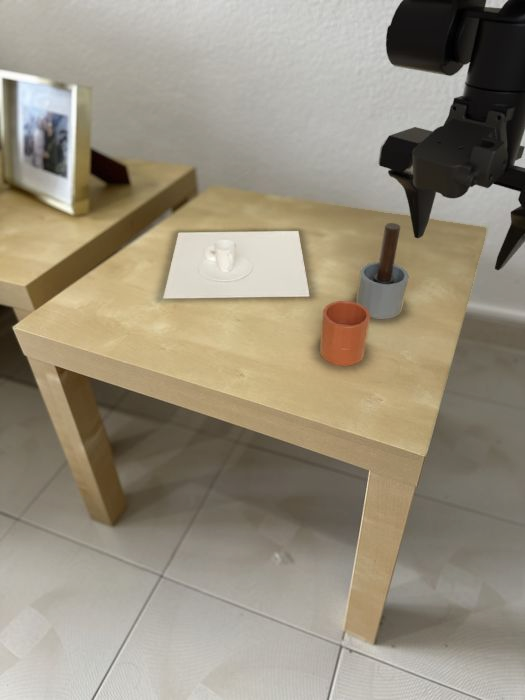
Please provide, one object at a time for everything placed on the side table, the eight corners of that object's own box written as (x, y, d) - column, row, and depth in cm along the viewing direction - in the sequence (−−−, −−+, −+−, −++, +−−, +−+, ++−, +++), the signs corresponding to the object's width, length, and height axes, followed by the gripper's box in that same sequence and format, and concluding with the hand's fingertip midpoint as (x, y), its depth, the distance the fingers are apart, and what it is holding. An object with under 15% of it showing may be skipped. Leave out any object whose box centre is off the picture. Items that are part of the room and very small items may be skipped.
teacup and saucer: (201, 254, 79) (198, 230, 77) (252, 253, 79) (252, 229, 77) (196, 284, 72) (194, 258, 70) (252, 283, 72) (252, 258, 70)
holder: (373, 352, 60) (379, 314, 57) (344, 372, 58) (349, 333, 54) (339, 333, 63) (343, 295, 60) (310, 351, 61) (313, 312, 57)
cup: (410, 306, 68) (417, 274, 65) (383, 324, 65) (389, 291, 62) (374, 289, 71) (379, 257, 68) (346, 305, 68) (350, 272, 65)
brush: (393, 303, 68) (408, 226, 61) (381, 311, 66) (395, 232, 59) (377, 295, 69) (390, 219, 62) (365, 302, 68) (377, 225, 61)
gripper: (352, 81, 44) (336, 245, 54) (575, 127, 33) (504, 322, 43) (425, 64, 50) (399, 215, 60) (635, 98, 39) (561, 276, 49)
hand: (456, 252), depth 53 cm, fingers open, 9 cm apart
